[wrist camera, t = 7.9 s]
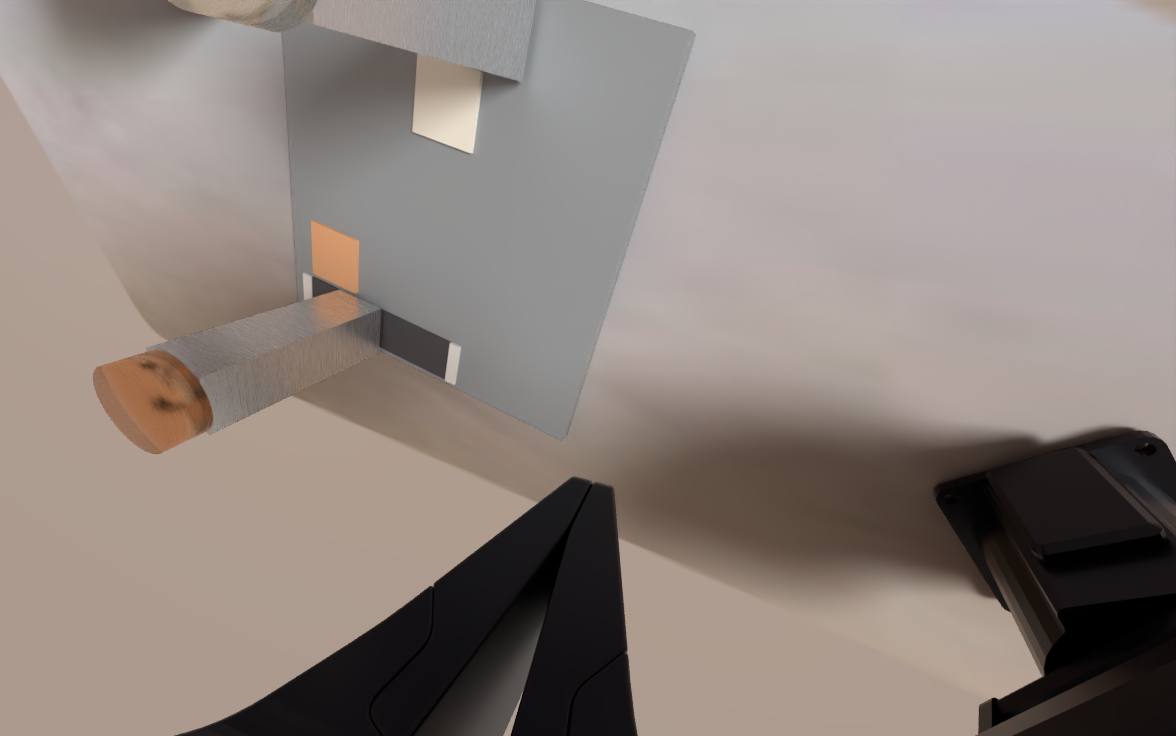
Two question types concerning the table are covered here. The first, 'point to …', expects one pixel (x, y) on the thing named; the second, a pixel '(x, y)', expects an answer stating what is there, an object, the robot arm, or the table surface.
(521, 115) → the switch board
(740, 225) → the table surface
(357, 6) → the lever
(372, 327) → the lever
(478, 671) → the robot arm
